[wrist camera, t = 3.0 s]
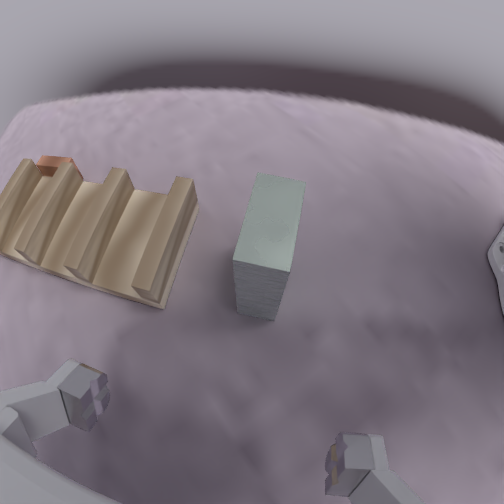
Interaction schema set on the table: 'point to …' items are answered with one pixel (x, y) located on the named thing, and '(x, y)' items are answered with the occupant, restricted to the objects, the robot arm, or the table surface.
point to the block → (267, 245)
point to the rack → (97, 228)
